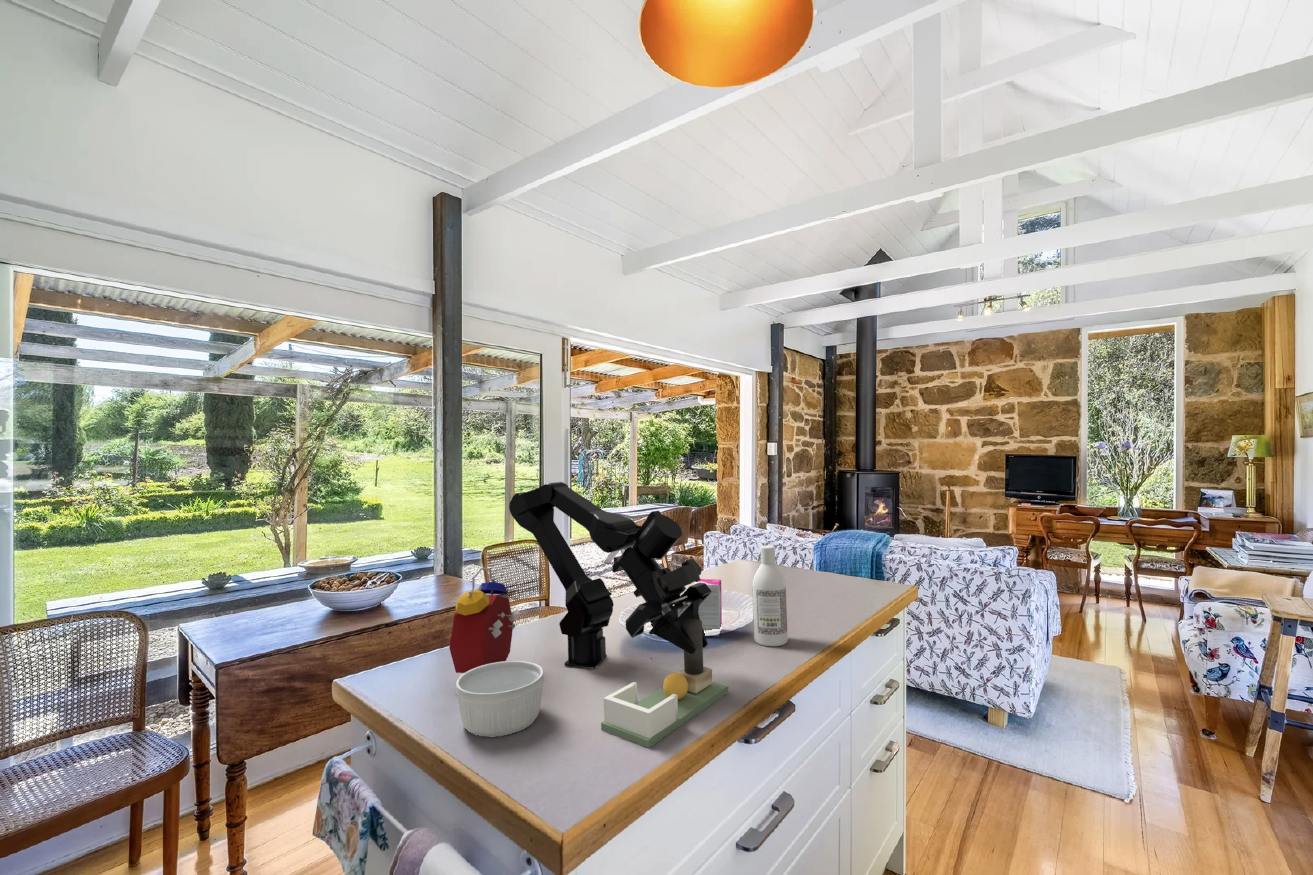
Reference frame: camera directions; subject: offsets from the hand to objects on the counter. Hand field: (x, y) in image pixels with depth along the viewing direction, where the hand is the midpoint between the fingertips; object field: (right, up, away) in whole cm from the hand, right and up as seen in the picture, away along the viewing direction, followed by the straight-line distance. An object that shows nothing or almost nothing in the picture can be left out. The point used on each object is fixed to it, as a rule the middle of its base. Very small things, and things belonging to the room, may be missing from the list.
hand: (700, 649), depth 93 cm
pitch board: (-5, -8, -5) cm, 11 cm away
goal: (-10, -7, -10) cm, 15 cm away
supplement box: (+4, -8, +32) cm, 33 cm away
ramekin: (-31, -9, -7) cm, 33 cm away
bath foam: (+17, -8, +25) cm, 31 cm away
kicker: (-1, -6, +1) cm, 6 cm away
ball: (-4, -5, -3) cm, 7 cm away
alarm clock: (-39, -9, +12) cm, 41 cm away
